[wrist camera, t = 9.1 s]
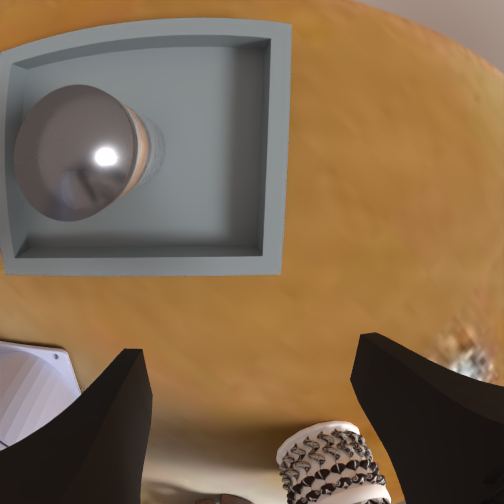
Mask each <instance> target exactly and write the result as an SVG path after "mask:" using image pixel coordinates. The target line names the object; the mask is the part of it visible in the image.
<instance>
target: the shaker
mask: <svg viewBox="0 0 504 504" xmlns="http://www.w3.org/2000/svg"><path fill="white" fill-rule="evenodd" d="M164 157H165V140H164V137H163V134H162V132H161V130H160V129H159V127H158V126H157V125H156V124H155V123H154V122H153V121H152V120H150V119H149V118H147V117H145V116H144V115H142V114H140V113H138V112H137V111H135V110H133V109H131V108H130V107H128V106H126V105H124V104H123V103H121V102H120V101H119V100H117V99H116V98H114V97H113V96H112V95H110V94H108V93H106V92H105V91H103V90H101V89H99V88H96V87H93V86H89V85H82V84H79V85H69V86H64V87H61V88H58V89H56V90H54V91H52V92H50V93H49V94H47V95H46V96H44V97H43V98H42V99H41V100H39V101H38V102H37V103H36V104H35V105H34V107H33V108H32V109H31V110H30V112H29V113H28V114H27V116H26V117H25V119H24V121H23V123H22V125H21V127H20V129H19V132H18V135H17V138H16V143H15V149H14V169H15V175H16V179H17V182H18V185H19V187H20V190H21V192H22V193H23V195H24V197H25V198H26V200H27V201H28V202H29V203H30V205H31V206H32V207H33V208H34V209H36V210H37V211H38V212H39V213H41V214H43V215H44V216H46V217H48V218H51V219H54V220H57V221H64V222H72V221H79V220H83V219H86V218H89V217H91V216H93V215H95V214H96V213H98V212H100V211H101V210H103V209H104V208H106V207H107V206H109V205H110V204H112V203H113V202H114V201H115V200H117V199H118V198H120V197H122V196H124V195H125V194H127V193H129V192H131V191H132V190H134V189H136V188H138V187H140V186H141V185H143V184H145V183H147V182H148V181H149V180H151V179H152V178H153V177H154V176H155V175H156V174H157V172H158V171H159V169H160V168H161V166H162V163H163V161H164Z"/></svg>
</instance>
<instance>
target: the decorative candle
mask: <svg viewBox="0 0 504 504" xmlns="http://www.w3.org/2000/svg"><path fill="white" fill-rule="evenodd" d="M372 460H373V456H372V454H371V450H370V448H368V447H367V446H366V443H365V439H364V437H363V436H361V435H360V434H359V430H358V428H357V427H356V426H355V425H353V424H352V423H350V422H348V421H337V420H334V421H328V422H323V423H317V424H315V425H312V426H310V427H307V428H305V429H302V430H300V431H298V432H297V433H295V434H294V435H292V436H291V437H289V438H288V439H286V440H285V441H284V443H283V444H282V445H281V446H280V447H279V449H278V450H277V456H276V461H277V463H278V464H279V469H281V470H283V471H281V472H280V476H282V477H283V478H282V482H283V483H285V484H284V485H283V489H285V490H288V494H287V498H288V500H287V503H288V504H390V503H391V498H390V496H389V494H388V492H387V490H386V488H385V485H386V481H385V477H384V476H383V475H378V473H379V468H378V464H377V463H375V462H372Z"/></svg>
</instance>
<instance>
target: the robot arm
mask: <svg viewBox="0 0 504 504" xmlns="http://www.w3.org/2000/svg"><path fill="white" fill-rule="evenodd" d="M55 354H57V355H58V356H56V355H55ZM350 381H351V383H352V386H353V389H354V391H355V394H356V396H357V399H358V401H359V403H360V405H361V407H362V409H363V411H364V412H365V414H366V416H367V418H368V419H369V421H370V423H371V425H372V426H373V428H374V430H375V431H376V433H377V435H378V437H379V438H380V440H381V442H382V444H383V445H384V447H385V449H386V451H387V453H388V455H389V457H390V459H391V462H392V464H393V467H394V469H395V472H396V474H397V477H398V480H399V483H400V485H401V488H402V491H403V494H404V497H405V501H406V504H504V387H503V386H498V385H494V384H490V383H486V382H482V381H479V380H476V379H473V378H470V377H467V376H464V375H462V374H459V373H456V372H454V371H452V370H449V369H447V368H445V367H443V366H441V365H438V364H436V363H434V362H432V361H430V360H428V359H426V358H424V357H422V356H420V355H419V354H417V353H415V352H413V351H411V350H409V349H407V348H406V347H404V346H402V345H400V344H398V343H396V342H395V341H393V340H391V339H389V338H387V337H385V336H383V335H381V334H378V333H376V332H374V333H367V334H360V339H359V343H358V348H357V352H356V357H355V361H354V365H353V370H352V374H351V378H350ZM152 396H153V395H152V391H151V387H150V383H149V378H148V374H147V369H146V364H145V360H144V355H143V350H142V349H124V350H123V351H122V352H121V353H120V354H119V355H118V356H117V357H116V358H115V359H114V360H113V361H112V362H111V364H110V365H109V366H108V367H107V368H106V369H105V370H104V371H103V372H102V374H101V375H100V376H99V377H98V378H97V379H96V380H95V381H94V382H93V383H92V384H91V385H90V386H89V387H88V388H87V389H86V390H85V391H84V392H83V393H81V390H80V388H79V385H78V382H77V379H76V376H75V373H74V370H73V367H72V364H71V361H70V358H69V355H68V353H67V352H66V351H65V350H63V349H58V348H49V347H40V346H31V345H24V344H16V343H9V342H3V341H0V504H140V492H141V478H142V471H143V465H144V459H145V453H146V447H147V442H148V436H149V430H150V425H151V414H152Z"/></svg>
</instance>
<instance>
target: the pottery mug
mask: <svg viewBox="0 0 504 504" xmlns="http://www.w3.org/2000/svg"><path fill="white" fill-rule="evenodd" d="M195 504H216V503H215V502H213V501H212V500H210V499H204V500H199V501H197V502H196V503H195ZM220 504H254V503H251V502H249V501H247V500H245V499H241V498H238V497H234V496H231V495H227V494H222V496H221V502H220Z"/></svg>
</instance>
